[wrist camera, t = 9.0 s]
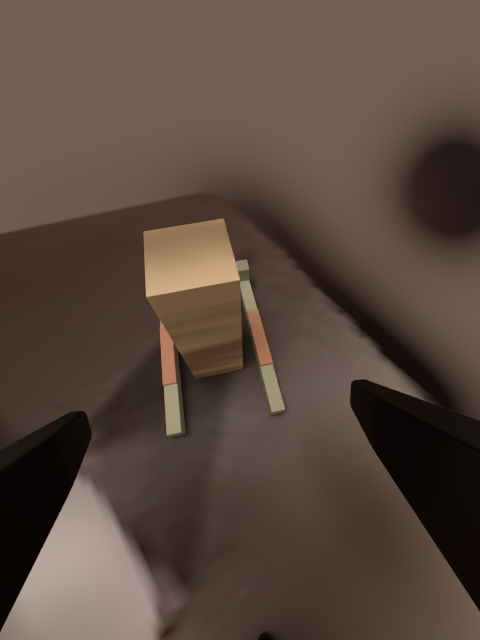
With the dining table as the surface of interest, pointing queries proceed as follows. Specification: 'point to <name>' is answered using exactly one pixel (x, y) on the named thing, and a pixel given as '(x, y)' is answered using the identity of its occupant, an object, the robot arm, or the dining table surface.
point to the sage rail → (261, 350)
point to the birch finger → (197, 294)
